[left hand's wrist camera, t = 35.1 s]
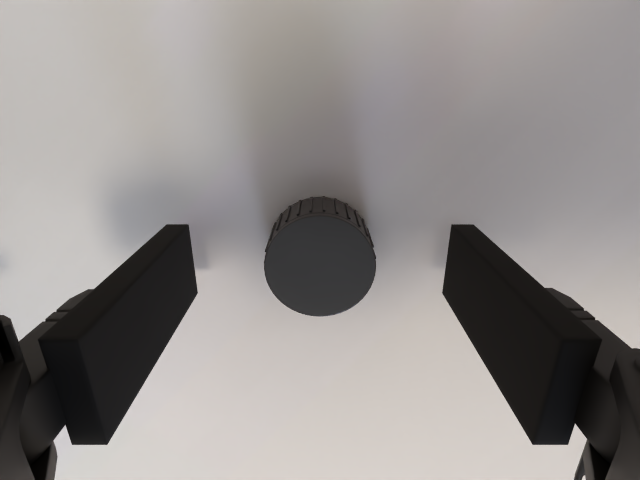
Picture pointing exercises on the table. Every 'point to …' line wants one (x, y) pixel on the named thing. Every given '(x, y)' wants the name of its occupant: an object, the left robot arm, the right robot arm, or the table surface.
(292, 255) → the cap
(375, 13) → the table surface
